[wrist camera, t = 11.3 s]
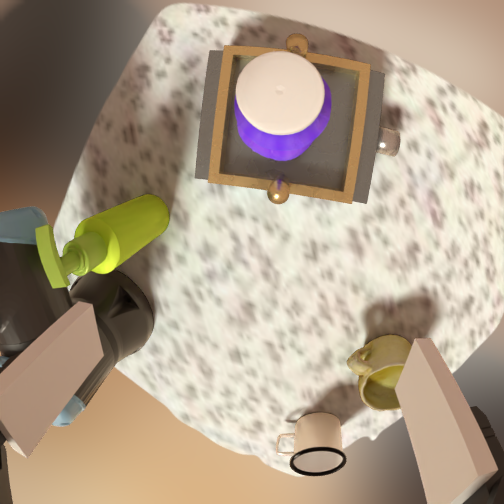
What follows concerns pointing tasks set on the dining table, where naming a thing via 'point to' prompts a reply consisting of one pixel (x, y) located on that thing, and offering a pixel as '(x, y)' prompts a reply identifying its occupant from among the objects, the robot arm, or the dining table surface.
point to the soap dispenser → (103, 239)
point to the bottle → (281, 105)
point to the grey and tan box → (322, 148)
